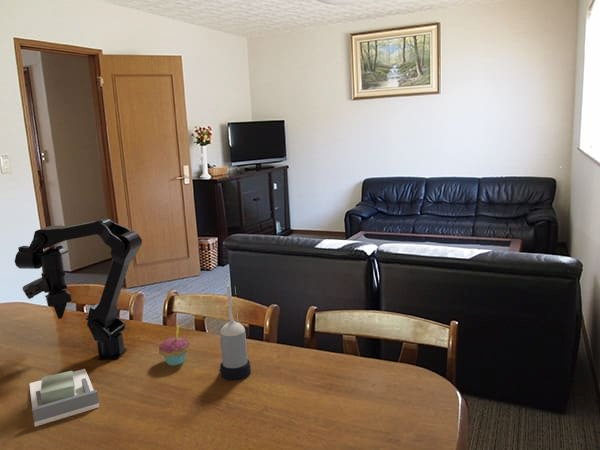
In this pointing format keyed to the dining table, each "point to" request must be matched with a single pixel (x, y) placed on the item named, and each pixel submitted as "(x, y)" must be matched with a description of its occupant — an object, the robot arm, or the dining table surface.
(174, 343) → the cupcake
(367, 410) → the dining table surface
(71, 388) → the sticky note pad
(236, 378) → the humidifier
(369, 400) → the dining table surface
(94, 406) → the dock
